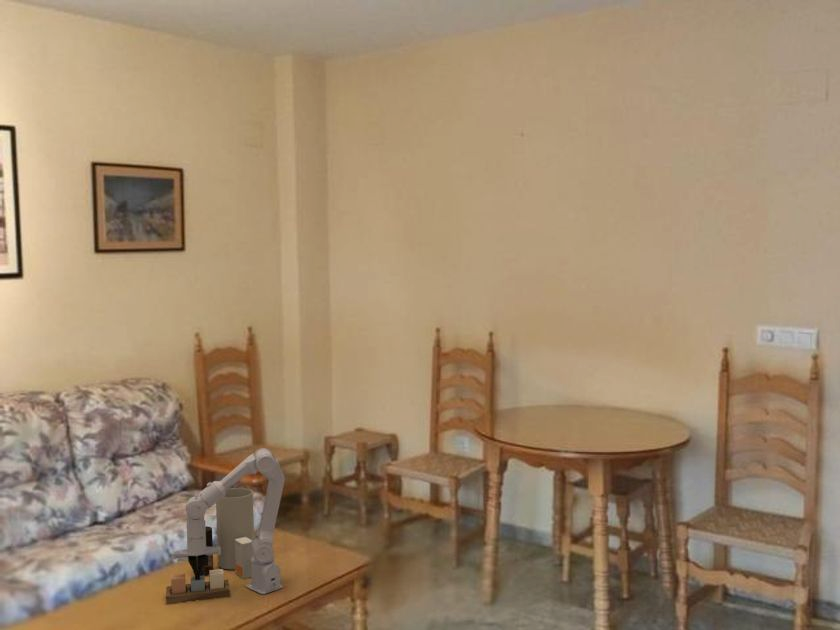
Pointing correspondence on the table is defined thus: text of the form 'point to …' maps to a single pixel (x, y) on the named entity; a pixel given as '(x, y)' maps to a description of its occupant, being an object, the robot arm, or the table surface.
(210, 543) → the deodorant
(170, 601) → the socket board
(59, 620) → the table surface
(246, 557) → the skincare box
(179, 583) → the terracotta key
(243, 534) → the cylinder vase
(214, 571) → the cream key
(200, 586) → the slate blue key
